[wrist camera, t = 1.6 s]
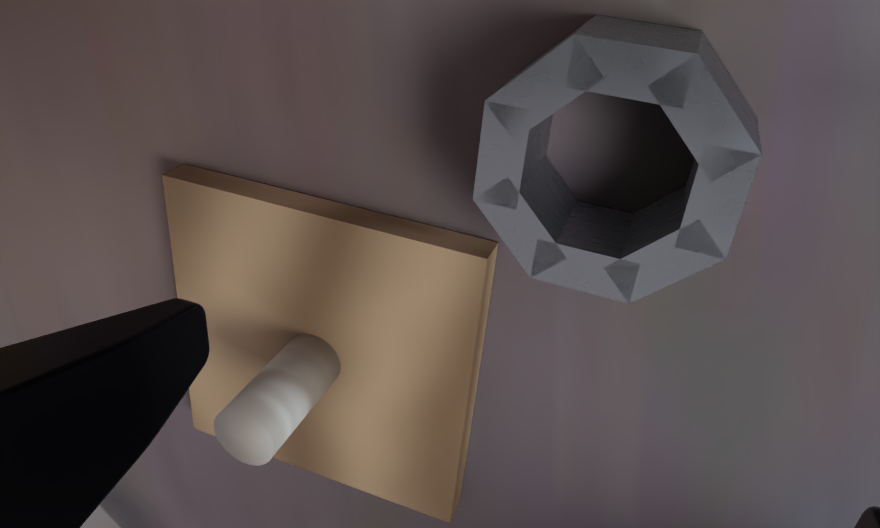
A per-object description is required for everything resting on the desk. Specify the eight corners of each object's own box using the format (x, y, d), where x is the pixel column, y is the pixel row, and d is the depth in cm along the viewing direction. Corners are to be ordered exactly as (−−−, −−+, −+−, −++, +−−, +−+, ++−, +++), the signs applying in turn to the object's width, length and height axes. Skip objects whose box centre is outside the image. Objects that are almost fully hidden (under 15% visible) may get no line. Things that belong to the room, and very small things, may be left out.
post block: (498, 242, 22) (434, 338, 17) (459, 501, 28) (405, 624, 23) (184, 164, 25) (57, 226, 20) (211, 411, 31) (117, 503, 26)
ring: (782, 42, 16) (791, 68, 14) (707, 269, 20) (704, 323, 17) (526, 3, 18) (494, 20, 16) (495, 218, 21) (464, 261, 19)
